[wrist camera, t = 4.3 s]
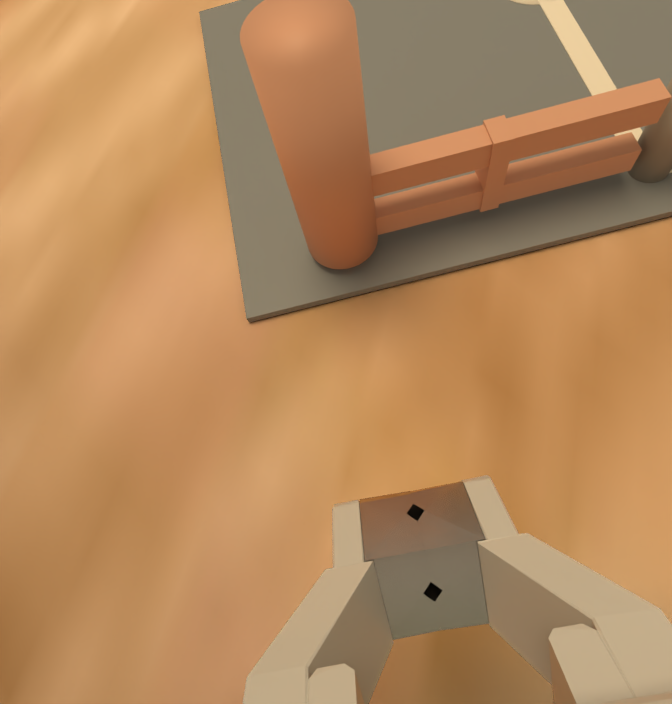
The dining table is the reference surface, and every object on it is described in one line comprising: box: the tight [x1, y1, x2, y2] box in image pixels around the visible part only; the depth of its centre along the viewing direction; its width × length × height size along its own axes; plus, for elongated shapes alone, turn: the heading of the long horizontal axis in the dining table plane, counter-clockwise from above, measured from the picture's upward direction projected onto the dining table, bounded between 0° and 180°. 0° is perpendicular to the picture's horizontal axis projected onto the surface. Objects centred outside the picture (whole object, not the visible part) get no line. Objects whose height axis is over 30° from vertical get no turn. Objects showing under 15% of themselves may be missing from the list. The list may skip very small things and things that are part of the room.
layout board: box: [199, 0, 672, 322], centre depth 26 cm, size 22×30×1 cm
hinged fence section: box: [240, 0, 672, 269], centre depth 18 cm, size 3×14×10 cm, turn 102°
